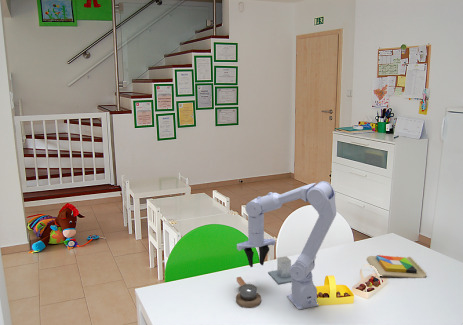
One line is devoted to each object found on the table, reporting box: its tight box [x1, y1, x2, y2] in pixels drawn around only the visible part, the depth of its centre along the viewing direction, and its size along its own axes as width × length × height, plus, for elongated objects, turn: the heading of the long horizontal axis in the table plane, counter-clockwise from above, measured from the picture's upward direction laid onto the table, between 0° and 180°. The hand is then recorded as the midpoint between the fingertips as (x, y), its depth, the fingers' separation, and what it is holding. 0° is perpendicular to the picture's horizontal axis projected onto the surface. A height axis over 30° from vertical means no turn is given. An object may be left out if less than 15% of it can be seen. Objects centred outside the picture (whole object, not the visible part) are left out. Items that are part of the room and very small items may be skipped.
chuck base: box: [235, 292, 262, 309], centre depth 148 cm, size 9×9×2 cm
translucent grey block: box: [276, 255, 292, 278], centre depth 165 cm, size 4×4×7 cm
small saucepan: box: [236, 276, 258, 301], centre depth 151 cm, size 14×6×3 cm, turn 19°
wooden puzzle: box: [366, 254, 427, 279], centre depth 171 cm, size 18×19×4 cm
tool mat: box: [267, 269, 292, 285], centre depth 166 cm, size 10×10×1 cm
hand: (256, 265), depth 155 cm, fingers open, 4 cm apart
